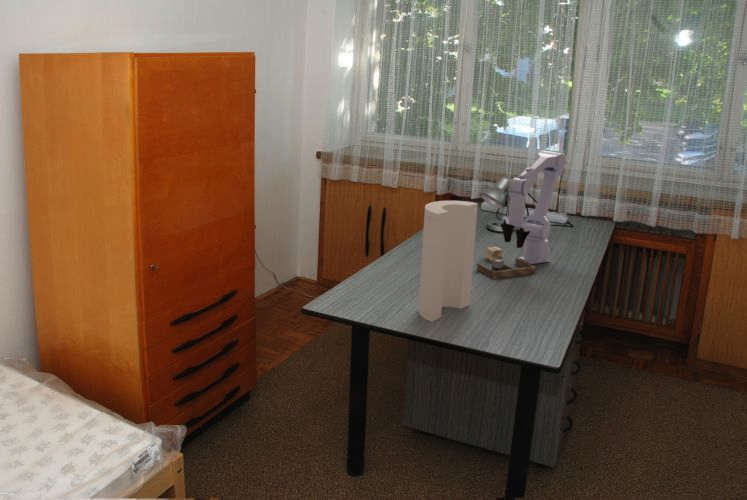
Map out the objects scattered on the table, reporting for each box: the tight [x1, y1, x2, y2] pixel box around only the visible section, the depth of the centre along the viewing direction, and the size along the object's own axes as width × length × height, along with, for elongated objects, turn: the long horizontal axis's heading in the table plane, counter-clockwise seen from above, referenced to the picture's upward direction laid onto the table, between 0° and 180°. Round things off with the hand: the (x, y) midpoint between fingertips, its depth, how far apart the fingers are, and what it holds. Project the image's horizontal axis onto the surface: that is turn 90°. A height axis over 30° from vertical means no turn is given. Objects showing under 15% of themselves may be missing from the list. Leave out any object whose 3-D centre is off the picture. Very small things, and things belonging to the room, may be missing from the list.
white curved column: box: [418, 200, 478, 323], centre depth 237 cm, size 35×11×21 cm
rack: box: [476, 257, 536, 280], centre depth 281 cm, size 19×11×2 cm, turn 117°
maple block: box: [485, 246, 504, 262], centre depth 295 cm, size 4×4×4 cm
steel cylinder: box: [490, 258, 505, 272], centre depth 279 cm, size 4×4×5 cm
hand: (513, 244), depth 280 cm, fingers open, 7 cm apart
